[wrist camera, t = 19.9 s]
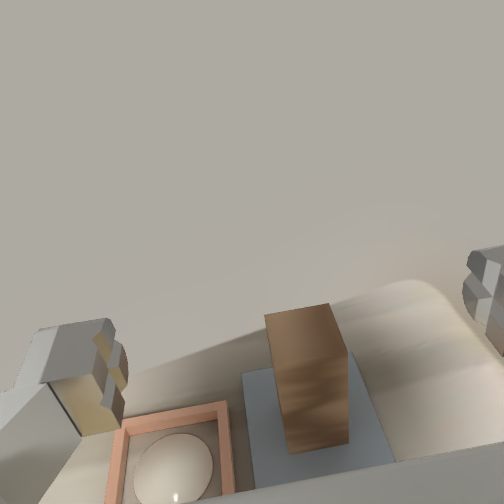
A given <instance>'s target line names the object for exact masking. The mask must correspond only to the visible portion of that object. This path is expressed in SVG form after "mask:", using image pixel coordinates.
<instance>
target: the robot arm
mask: <svg viewBox="0 0 504 504" xmlns="http://www.w3.org/2000/svg"><path fill="white" fill-rule="evenodd" d="M467 267H468V268H469V269H470V270H471V274H470V275H469V276H468V277H467V278H466V279H465V280H464V283H463V291H462V294H463V299H464V304H465V306H466V309H467V310H468V313H469V314H470V315H471V317H472V318H473V320H475V321H476V322H479V323H481V324H483V325H485V326H486V332H485V335H486V337H487V338H488V339H489V341H490V342H491V343H492V345H493V346H494V347H495V348H496V350H497V351H498V352H499V354H500V355H501V356H502V357H504V245H500V246H495V247H490V248H484V249H479V250H474V251H472V252H471V253H470V255H469V257H468V261H467ZM115 331H116V330H115V328H114V326H113V324H112V322H111V320H110V319H108V318H102V319H96V320H90V321H84V322H77V323H72V324H65V325H62V326H55V327H49V328H43V329H39V330H38V331H37V332H36V333H35V334H34V337H33V339H32V341H31V344H30V346H29V349H28V351H27V354H26V356H25V359H24V361H23V364H22V366H21V369H20V372H19V374H18V377H17V379H16V382H15V384H14V387H13V389H12V390H7V391H4V392H3V394H1V395H0V504H38V503H39V501H40V500H41V498H42V497H43V495H44V494H45V492H46V491H47V490H48V488H49V487H50V485H51V484H52V482H53V481H54V479H55V478H56V477H57V475H58V474H59V472H60V471H61V469H62V468H63V466H64V465H65V464H66V462H67V461H68V459H69V458H70V456H71V455H72V453H73V452H74V451H75V449H76V448H77V446H78V445H79V443H80V442H81V440H82V438H81V437H86V436H90V435H95V434H99V433H104V432H109V431H113V430H118V429H121V426H122V419H123V412H124V405H125V401H124V399H123V397H122V395H121V392H122V391H123V390H124V388H125V387H126V386H127V383H128V361H127V357H126V353H125V350H124V349H123V346H122V344H120V343H119V342H117V341H116V340H114V337H115ZM181 504H504V442H499V443H494V444H489V445H483V446H478V447H473V448H468V449H463V450H457V451H452V452H447V453H442V454H437V455H431V456H426V457H421V458H416V459H411V460H405V461H400V462H395V463H390V464H385V465H379V466H374V467H369V468H364V469H359V470H353V471H348V472H343V473H338V474H332V475H327V476H322V477H317V478H312V479H306V480H301V481H296V482H291V483H285V484H280V485H275V486H270V487H265V488H259V489H254V490H249V491H244V492H238V493H233V494H228V495H223V496H218V497H212V498H207V499H202V500H197V501H191V502H186V503H181Z"/></svg>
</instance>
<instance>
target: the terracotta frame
mask: <svg viewBox="0 0 504 504" xmlns="http://www.w3.org/2000/svg"><path fill="white" fill-rule="evenodd" d="M216 419H218V432H219V448H220V463H221V479H222V495H228V494H233V493H236V487H235V476H234V464H233V453H232V442H231V431H230V419H229V408H228V405H227V401H226V400H223V401H218V402H213V403H207V404H202V405H197V406H191V407H186V408H180V409H175V410H170V411H164V412H159V413H154V414H148V415H143V416H138V417H132V418H127V419H122V426H121V429H118V430H115V434H114V441H113V448H112V455H111V461H110V468H109V475H108V482H107V489H106V495H105V502H104V504H122V496H123V487H124V479H125V470H126V461H127V453H128V444H129V436H131V435H136V434H142V433H147V432H152V431H158V430H163V429H168V428H173V427H179V426H184V425H189V424H195V423H200V422H205V421H211V420H216ZM212 471H213V461H212V456H211V453H210V451H209V449H208V447H207V446H206V444H205V443H204V442H203V441H202V440H201V439H199V438H197V437H195V436H193V435H190V434H172V435H169V436H166V437H163V438H161V439H159V440H158V441H156V442H155V443H153V444H152V445H151V446H150V447H149V448H148V449H147V450H146V451H145V452H144V453H143V455H142V456H141V458H140V459H139V461H138V463H137V465H136V468H135V471H134V477H133V486H134V491H135V494H136V496H137V498H138V500H139V501H140V503H141V504H181V503H186V502H191V501H197V500H198V499H199V498H200V497H201V496H202V494H203V493H204V492H205V490H206V488H207V487H208V485H209V482H210V480H211V476H212Z"/></svg>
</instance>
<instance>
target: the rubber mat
mask: <svg viewBox="0 0 504 504" xmlns="http://www.w3.org/2000/svg"><path fill="white" fill-rule="evenodd" d="M241 376H242V384H243V392H244V401H245V409H246V417H247V425H248V433H249V441H250V449H251V457H252V465H253V473H254V481H255V489H259V488H265V487H270V486H275V485H280V484H285V483H291V482H296V481H301V480H306V479H312V478H317V477H322V476H327V475H332V474H338V473H343V472H348V471H353V470H359V469H364V468H369V467H374V466H379V465H385V464H390V463H395V462H396V461H395V459H394V456H393V454H392V451H391V449H390V446H389V444H388V441H387V439H386V436H385V434H384V431H383V429H382V426H381V424H380V421H379V419H378V416H377V414H376V411H375V409H374V406H373V404H372V401H371V399H370V396H369V394H368V391H367V389H366V386H365V384H364V381H363V379H362V376H361V374H360V371H359V369H358V366H357V364H356V361H355V359H354V356H353V354H352V353H348V399H349V444H345V445H340V446H335V447H330V448H324V449H319V450H314V451H308V452H303V453H298V454H293V455H289V453H288V448H287V442H286V437H285V432H284V427H283V422H282V417H281V412H280V407H279V402H278V396H277V389H276V383H275V377H274V371H273V367H271V368H265V369H260V370H255V371H249V372H244V373H241Z"/></svg>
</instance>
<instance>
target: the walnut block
mask: <svg viewBox="0 0 504 504" xmlns="http://www.w3.org/2000/svg"><path fill="white" fill-rule="evenodd" d="M265 322H266V328H267V334H268V341H269V347H270V353H271V359H272V365H273V371H274V377H275V383H276V389H277V396H278V402H279V407H280V412H281V417H282V422H283V427H284V432H285V437H286V442H287V448H288V453H289V455H293V454H298V453H303V452H308V451H314V450H319V449H324V448H330V447H335V446H340V445H345V444H349V399H348V352H347V349H346V346H345V344H344V341H343V339H342V336H341V334H340V331H339V328H338V326H337V323H336V321H335V318H334V316H333V313H332V310H331V308H330V305H329V303H327V304H322V305H317V306H311V307H305V308H300V309H295V310H289V311H284V312H278V313H273V314H268V315H265Z"/></svg>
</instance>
